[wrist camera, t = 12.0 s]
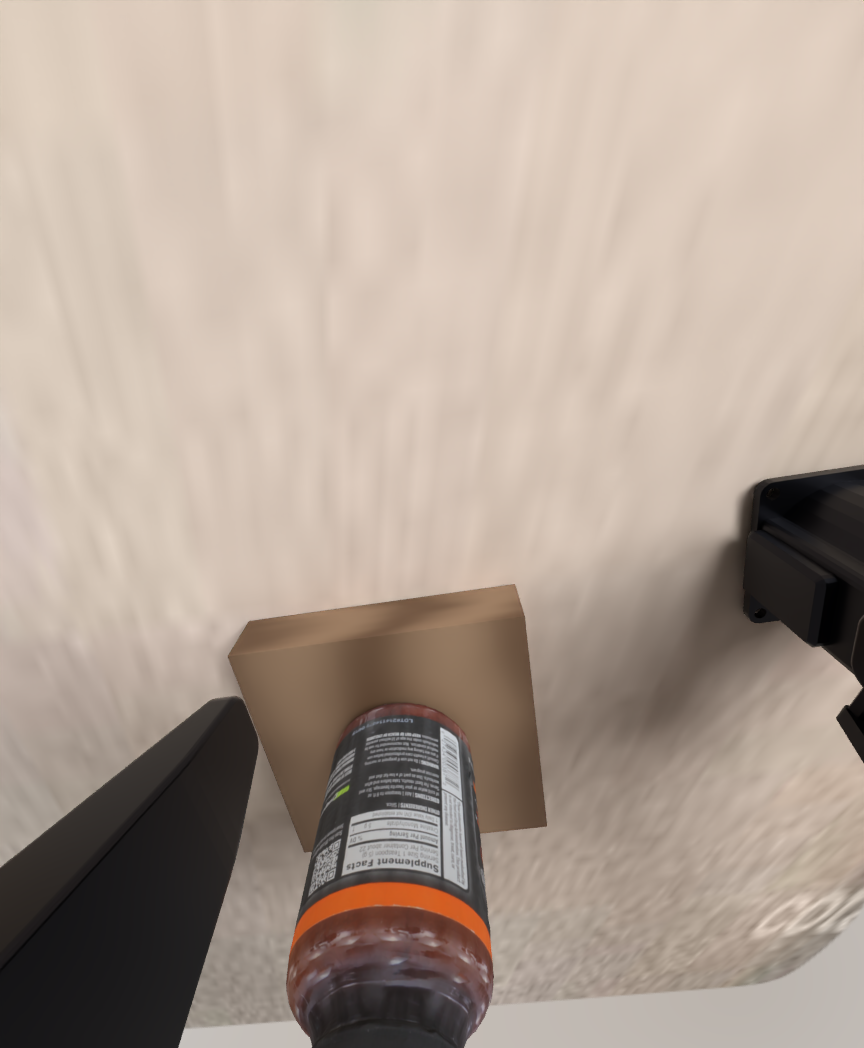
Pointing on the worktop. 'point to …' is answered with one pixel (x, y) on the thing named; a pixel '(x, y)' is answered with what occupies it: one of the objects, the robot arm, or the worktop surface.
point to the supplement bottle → (395, 891)
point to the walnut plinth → (397, 693)
